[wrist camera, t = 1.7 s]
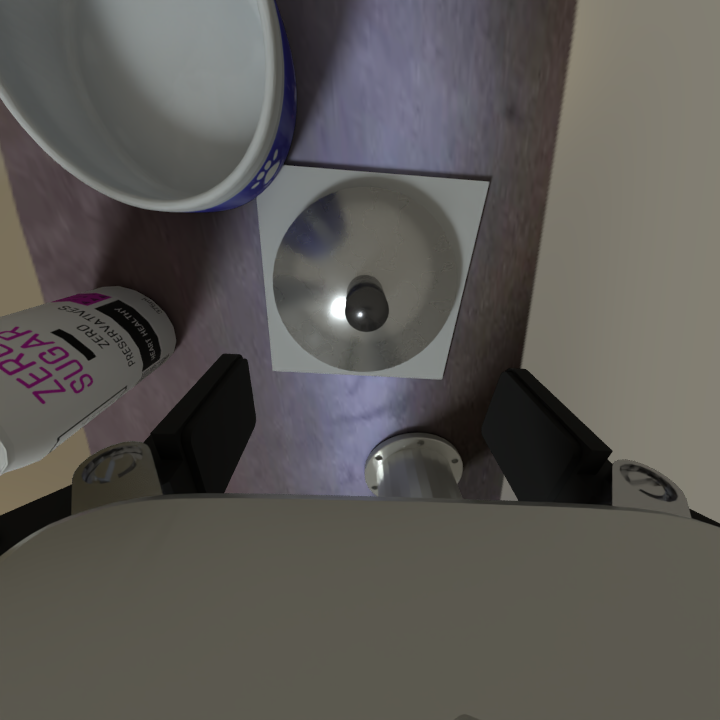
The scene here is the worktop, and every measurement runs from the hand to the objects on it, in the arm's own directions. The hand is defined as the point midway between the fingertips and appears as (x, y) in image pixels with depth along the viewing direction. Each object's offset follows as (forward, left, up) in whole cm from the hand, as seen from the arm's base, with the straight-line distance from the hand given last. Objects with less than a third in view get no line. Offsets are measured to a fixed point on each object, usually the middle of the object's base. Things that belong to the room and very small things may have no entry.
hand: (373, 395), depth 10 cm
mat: (0, 0, -17) cm, 17 cm away
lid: (0, 0, -17) cm, 17 cm away
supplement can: (-5, +22, -17) cm, 28 cm away
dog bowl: (+13, +13, -17) cm, 25 cm away
